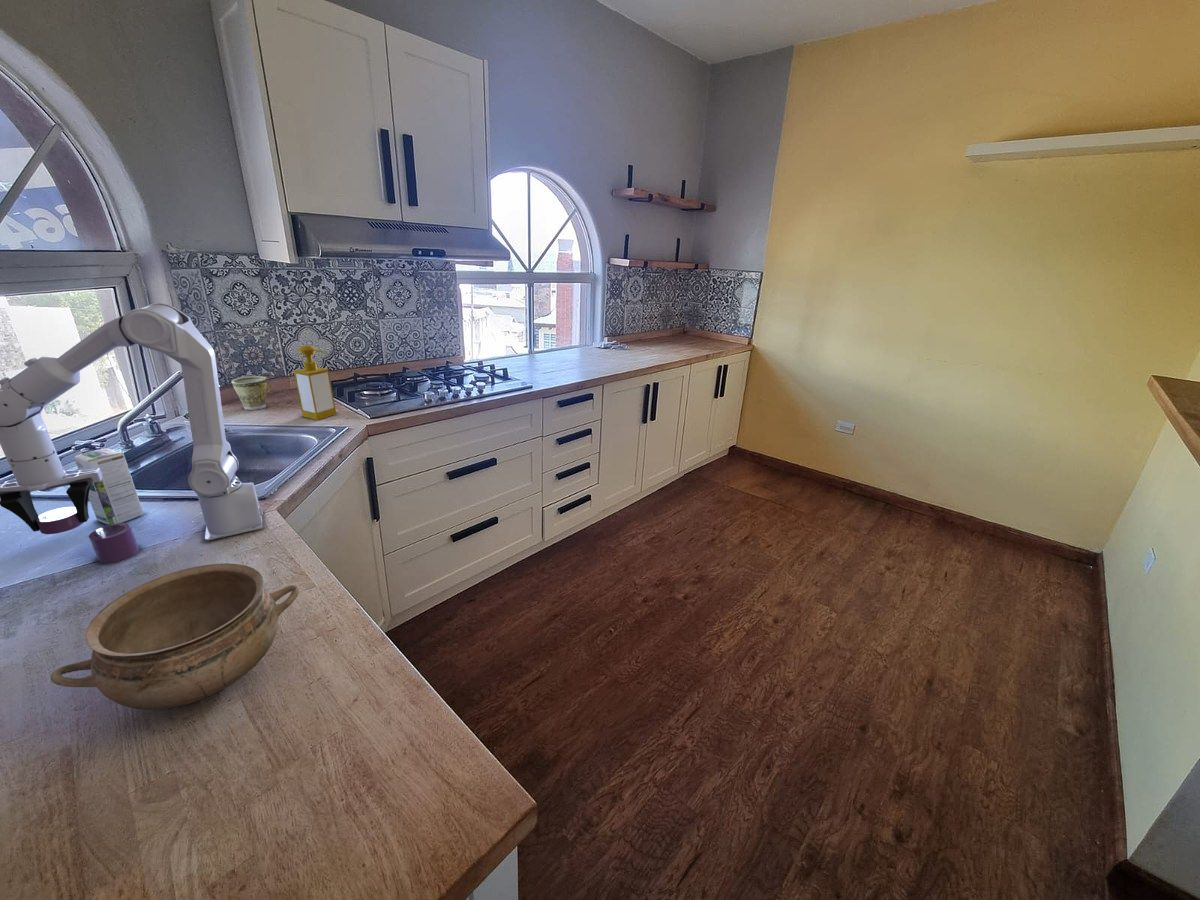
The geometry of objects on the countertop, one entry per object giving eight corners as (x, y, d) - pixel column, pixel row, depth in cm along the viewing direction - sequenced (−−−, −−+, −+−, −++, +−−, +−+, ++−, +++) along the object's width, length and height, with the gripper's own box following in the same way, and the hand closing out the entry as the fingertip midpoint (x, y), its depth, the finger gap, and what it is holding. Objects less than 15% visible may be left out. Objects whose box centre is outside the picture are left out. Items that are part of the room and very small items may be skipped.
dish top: (87, 515, 94) (82, 504, 93) (80, 529, 90) (75, 516, 89) (45, 523, 91) (40, 511, 90) (36, 537, 87) (30, 525, 86)
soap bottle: (328, 422, 163) (315, 350, 154) (302, 416, 168) (288, 346, 159) (347, 416, 169) (335, 346, 160) (322, 410, 174) (309, 342, 165)
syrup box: (95, 521, 103) (70, 456, 98) (129, 508, 108) (107, 446, 103) (112, 527, 101) (87, 461, 96) (146, 514, 106) (124, 451, 101)
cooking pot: (293, 602, 82) (277, 538, 77) (328, 671, 69) (311, 599, 64) (80, 682, 66) (44, 608, 61) (74, 791, 53) (28, 707, 49)
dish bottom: (141, 543, 96) (136, 531, 95) (136, 557, 92) (132, 545, 91) (101, 551, 93) (97, 539, 92) (95, 566, 89) (90, 554, 88)
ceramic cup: (230, 410, 171) (223, 381, 168) (254, 402, 180) (247, 375, 177) (264, 413, 169) (257, 384, 166) (286, 405, 179) (280, 377, 175)
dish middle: (136, 531, 95) (132, 520, 94) (132, 545, 91) (127, 533, 90) (97, 539, 92) (92, 528, 91) (90, 554, 88) (85, 542, 87)
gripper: (-42, 472, 79) (-6, 546, 84) (84, 455, 86) (110, 523, 91) (-24, 457, 84) (9, 527, 89) (93, 442, 92) (118, 507, 97)
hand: (61, 524), depth 91 cm, fingers closed on dish top, 5 cm apart
